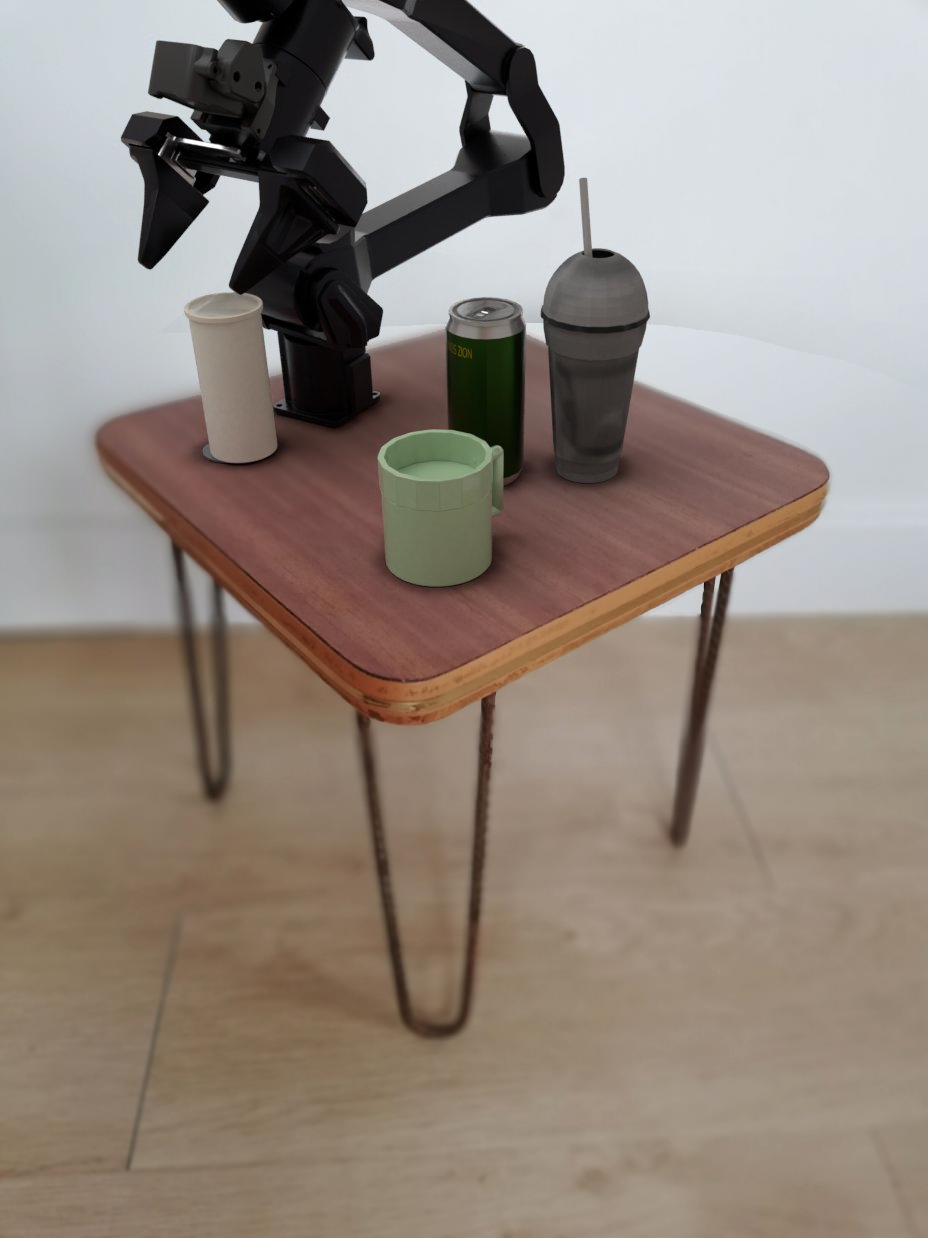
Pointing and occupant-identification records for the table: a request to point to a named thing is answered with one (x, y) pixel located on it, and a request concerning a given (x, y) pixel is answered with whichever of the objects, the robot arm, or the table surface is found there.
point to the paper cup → (233, 375)
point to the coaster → (210, 455)
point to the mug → (439, 505)
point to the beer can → (488, 375)
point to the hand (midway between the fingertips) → (187, 278)
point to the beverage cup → (592, 354)
